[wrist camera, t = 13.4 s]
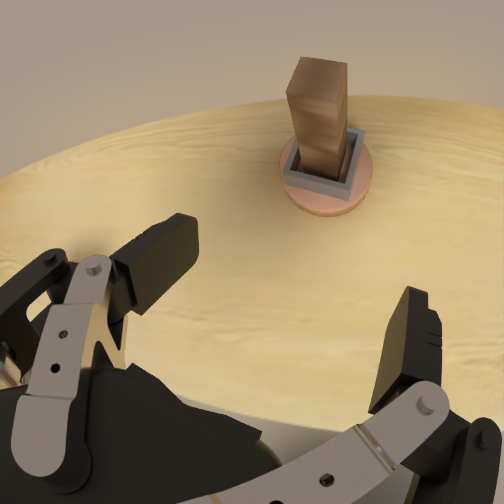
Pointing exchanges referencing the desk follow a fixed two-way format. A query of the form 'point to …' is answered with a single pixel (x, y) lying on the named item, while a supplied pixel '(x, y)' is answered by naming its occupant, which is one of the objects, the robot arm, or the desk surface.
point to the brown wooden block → (320, 115)
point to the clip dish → (323, 190)
